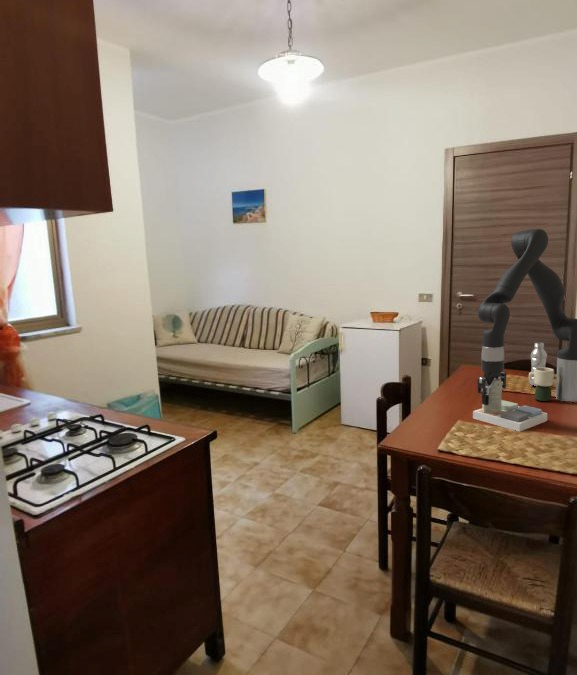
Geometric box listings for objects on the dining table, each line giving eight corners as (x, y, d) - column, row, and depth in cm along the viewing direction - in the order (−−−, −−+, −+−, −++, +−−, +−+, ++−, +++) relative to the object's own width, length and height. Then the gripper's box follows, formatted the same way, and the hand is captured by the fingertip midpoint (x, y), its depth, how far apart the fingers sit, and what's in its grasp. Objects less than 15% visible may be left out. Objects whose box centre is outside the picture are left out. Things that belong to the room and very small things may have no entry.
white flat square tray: (500, 409, 187) (500, 402, 187) (547, 420, 172) (547, 413, 171) (472, 418, 178) (473, 411, 177) (519, 431, 163) (519, 423, 162)
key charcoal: (510, 414, 173) (510, 410, 172) (528, 419, 167) (528, 414, 167) (500, 418, 170) (500, 413, 169) (518, 423, 164) (518, 418, 164)
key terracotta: (488, 412, 180) (488, 407, 180) (504, 416, 175) (504, 411, 175) (478, 415, 177) (478, 411, 177) (494, 420, 172) (494, 415, 172)
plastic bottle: (525, 386, 217) (527, 342, 214) (537, 384, 219) (539, 341, 215) (537, 389, 211) (538, 345, 207) (549, 387, 213) (551, 343, 209)
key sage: (502, 404, 185) (502, 400, 184) (517, 408, 179) (518, 403, 179) (492, 407, 182) (492, 403, 181) (508, 411, 176) (508, 407, 176)
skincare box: (499, 409, 177) (500, 377, 175) (501, 413, 173) (502, 380, 171) (481, 409, 179) (482, 377, 177) (482, 412, 175) (483, 380, 173)
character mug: (558, 399, 196) (560, 368, 193) (557, 404, 190) (558, 372, 188) (529, 396, 201) (530, 366, 199) (526, 400, 196) (528, 369, 194)
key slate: (524, 410, 177) (524, 405, 177) (541, 414, 172) (541, 409, 172) (514, 413, 174) (514, 408, 174) (532, 417, 169) (532, 412, 168)
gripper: (495, 354, 180) (494, 396, 182) (471, 359, 172) (470, 404, 175) (514, 356, 173) (512, 400, 176) (489, 362, 166) (488, 408, 168)
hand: (491, 402), depth 175 cm, fingers closed on skincare box, 7 cm apart
